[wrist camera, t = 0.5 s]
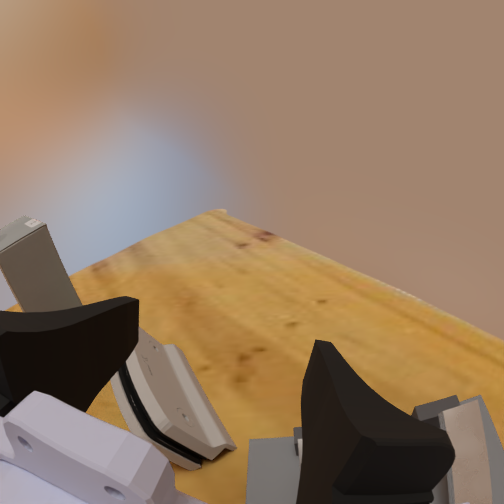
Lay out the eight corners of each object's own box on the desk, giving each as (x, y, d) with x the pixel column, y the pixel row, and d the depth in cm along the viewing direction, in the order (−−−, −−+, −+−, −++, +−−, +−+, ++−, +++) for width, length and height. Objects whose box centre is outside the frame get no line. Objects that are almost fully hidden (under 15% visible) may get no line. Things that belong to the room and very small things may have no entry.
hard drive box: (111, 352, 40) (47, 223, 30) (71, 384, 35) (-8, 256, 25) (72, 316, 49) (24, 213, 39) (40, 339, 44) (-15, 236, 34)
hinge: (239, 451, 25) (169, 416, 20) (201, 476, 24) (124, 447, 19) (181, 349, 39) (128, 301, 33) (154, 370, 38) (99, 327, 32)
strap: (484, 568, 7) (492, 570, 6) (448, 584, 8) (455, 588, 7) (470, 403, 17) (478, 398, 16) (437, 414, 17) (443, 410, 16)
